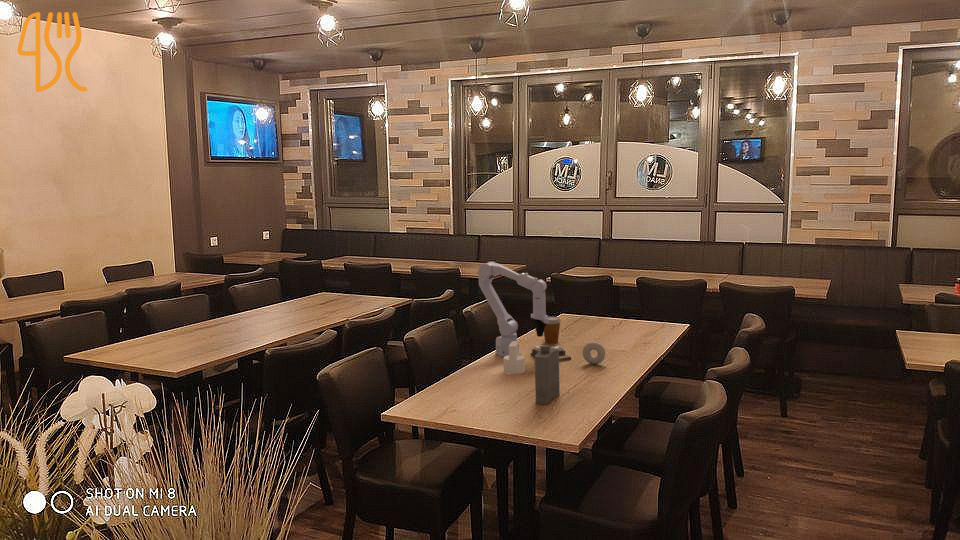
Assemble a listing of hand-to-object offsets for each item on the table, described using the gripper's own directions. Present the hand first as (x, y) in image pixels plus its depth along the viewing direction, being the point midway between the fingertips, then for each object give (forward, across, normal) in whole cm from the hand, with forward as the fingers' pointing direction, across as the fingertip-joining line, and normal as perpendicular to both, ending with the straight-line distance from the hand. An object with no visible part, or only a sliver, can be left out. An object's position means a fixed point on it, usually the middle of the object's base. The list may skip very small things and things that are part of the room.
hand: (540, 336), depth 331 cm
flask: (+10, -58, +26) cm, 64 cm away
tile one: (+7, 0, 0) cm, 7 cm away
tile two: (+7, -5, -6) cm, 10 cm away
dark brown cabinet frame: (+9, -5, -3) cm, 11 cm away
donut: (+10, -24, -14) cm, 29 cm away
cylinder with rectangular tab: (+10, -18, +21) cm, 29 cm away
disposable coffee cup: (+10, +22, -17) cm, 29 cm away
